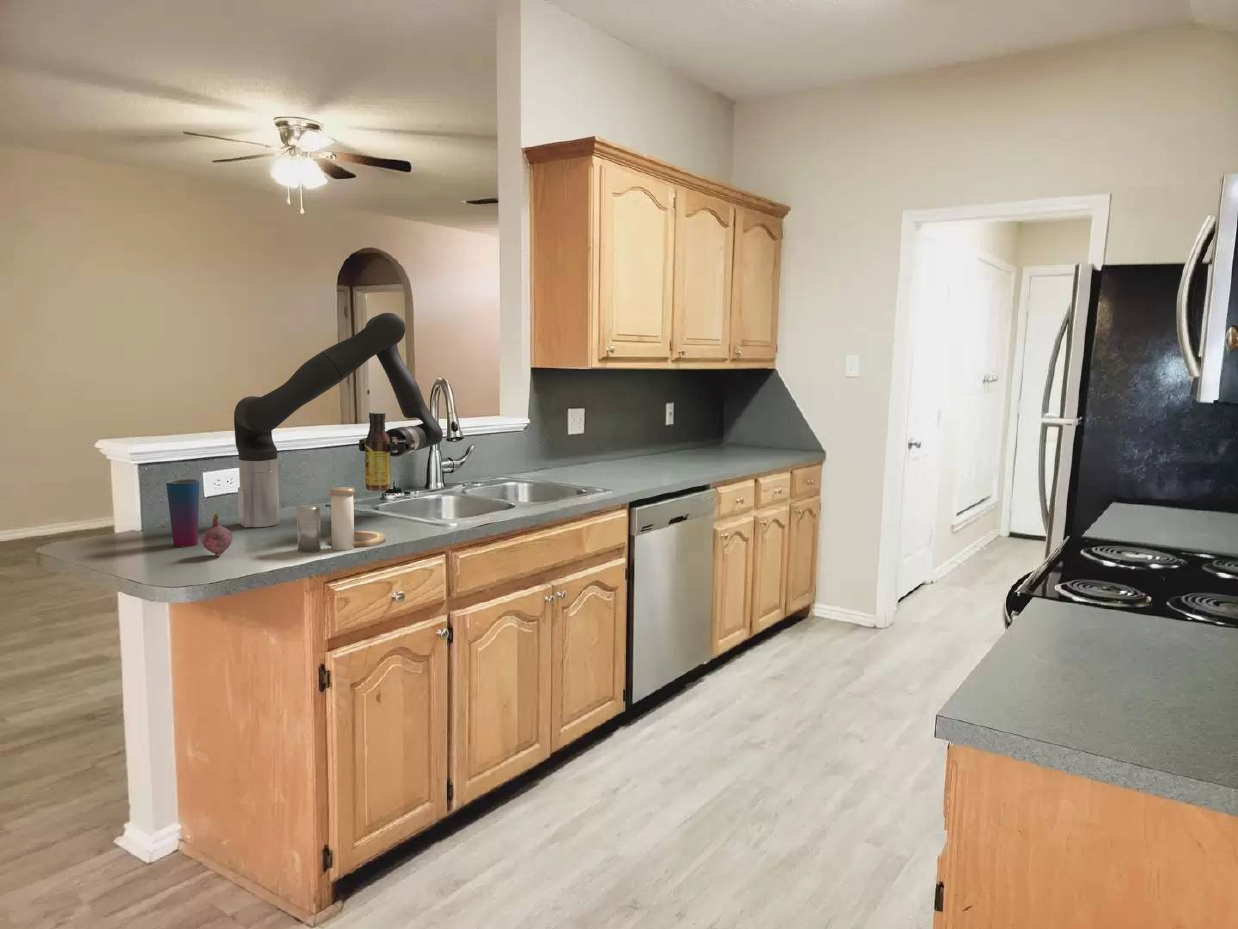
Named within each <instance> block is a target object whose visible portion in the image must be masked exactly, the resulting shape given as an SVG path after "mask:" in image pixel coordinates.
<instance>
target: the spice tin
mask: <svg viewBox="0 0 1238 929" xmlns="http://www.w3.org/2000/svg"><path fill="white" fill-rule="evenodd" d="M320 509H321V507H320V506H319V505H311V504H310V505H299V506H297V507H296V533H297V534H296V539H297V540H296V541H297V552H298V553H302V552H311V553H317V552H320V551H321V549H322V545H321V544H322V543H321V542H322V541H321V510H320Z"/></svg>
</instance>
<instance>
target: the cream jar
mask: <svg viewBox="0 0 1238 929" xmlns="http://www.w3.org/2000/svg"><path fill="white" fill-rule="evenodd" d="M328 491H329V493H328V494H329V495H330V516H331V517H330V518H331V520H330V521H331V522H330V523H331V524H330V525H331V530H330V531H331V536H332V545H331V550H333V551H337V550H338V551H339V550H340V552H341V551H350V550H349V549H351V550H353V549H352V548H354V549H355V547H354V532H355V515H354V513H355V510H354V508H355V507H354V494H356V492H355V491H356V489H355V487H350V486H349V487H348V486H338V487H337V486H336V487H331V488H329V489H328ZM338 551H337V552H338Z"/></svg>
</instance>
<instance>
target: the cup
mask: <svg viewBox="0 0 1238 929" xmlns="http://www.w3.org/2000/svg"><path fill="white" fill-rule="evenodd" d="M165 483H166V491H167V492H166V493H167V499H168V500H167V501H168V502H167V503H168V509H169V518H170V527H171V535H172V541H173V542H172V544H173V547H175V546H179V547H178V548H185V547H184V546H190V547H194V546H196V545H198V544H199V511H200V508H199V507H200V506H199V505H200V502H199V501H200V479H196V478H177V479H176V478H175V479H171V480H170V479H169V480H167V481H166V482H165ZM182 546H183V547H182Z"/></svg>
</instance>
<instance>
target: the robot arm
mask: <svg viewBox="0 0 1238 929" xmlns="http://www.w3.org/2000/svg"><path fill="white" fill-rule="evenodd" d="M406 328H407V327H406V323H405V321H404V319H403V318H402V317H401V316H400V315H398V314H396V313H392V312H383V313H380V314H377V315H375V316H373V317H371V318H370V319H368V321H367V322H366V324H365V327H364V328H362V330H360V331H359V332H357V333H356V334H354V335H353V336H351V337H349V338H346V339H344V340H342V341H340V342H338V343H336V344H334V345H331V346H330V347H328V348H326V349H324V350H322V351H321V352H319V353H317V354H315V355H314V356H312V357H311V358H310V359H308V360H306V361H305V362H304V363H303V364H302V365H301V366H299V367H298V368H297V370H296V371H295V372H294V373H293V374H292V375H291V377H290V378H289V379H288V380H287V381H285V382H284V383H283V384H281V385H280V386H279V387H277V388H275V389H273V390H272V391H269V392H268V393H265V394H264V395H262V396H254V395H253V396H252V395H251V396H250V395H249V396H245V397H244V398H242V399H240V400H239V401H238V403H237V404H236V405H235V408H234V412H233V424H234V427H233V428H234V439H235V440H234V441H235V442H234V443H235V447H236V450H237V452H238V467H239V468H238V472H239V474H238V475H239V487H237V500H238V502H237V503H238V504H237V505H238V508H237V509H238V524H239V525H241V526H242V527H243V528H266V527H272V526H277V525H279V524H280V508H279V507H280V502H279V501H280V500H279V498H280V497H279V496H280V495H279V471H278V470H279V469H278V465H279V464H278V461H279V459H278V449H277V447H276V445H275V443H274V440H273V439H274V438H273V434H272V431H274V429H276V428H277V427H279V426H280V425H281V424H282V423H283V422H285V421H286V420H287V419H288V418H289V417H290V416H291V415H293V414H294V413H295V412H296V411H297V410H298V409H300V408H302V407H303V406H305V405H306V404H308V403H310V402H311V401H313V400H315V399H317V398H318V397H319V396H321V395H322V394H324V393H326V392H327V391H329V390H331V389H332V388H334V386H335V387H336V386H337V385H338V384H339V383H341V382H342V381H343V380H344V379H346V378H347V377H349V376H350V375H351V374H353V373H354V372H355V371H357V370H358V369H359V368H361V367H362V365H364V364H365V363H366V362H368V361H369V360H370V359H371V358H372V357H374V356H376V357H377V359H378V362H379V363H380V365H381V366H382V369H383V370H384V373H385V374H386V376H387V378H388V381H389V383H390V385H391V387H392V388H391V389H392V390H393V392H394V395H395V398H396V401H397V403H398V405H399V408H400V411H401V415H403V417H404V418H405V419H418V420H420V422H421V423H419V424H415V425H408V426H399V427H393V428H390V429H386V430H385V431H386V433H387V435H388V436H389V438H390V443H387V444H385V453H389V452H390V457H394V458H395V457H396V458H398V457H400V456H404V455H408V454H410V453H412V452H415V451H419V450H423V449H426V448H430V447H432V446H435V445H439V444H440V443H441V442H442V441H443V437H444V436H443V435H444V432H443V429H442V427H441V425H440V424H439V422H438V420H436V418H435V416H433V415H432V413H431V411H430V410H429V408H428V406H427V404H426V402H425V400H424V397H423V395H422V391H421V388H420V386H419V384H418V383H417V381H416V379H415V378H414V376H413V375H412V373H411V372H410V370H409V369H408V367H407V366H406V364H405V363H404V360H403V359H402V356H401V353H400V351H399V347H398V344H399V343H400V342H401V341H402V340H403V338H404V336H405V334H406ZM366 438H367V437H364V438H360V439H358V440H359V442H358V450H359V452H365V441H366Z"/></svg>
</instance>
